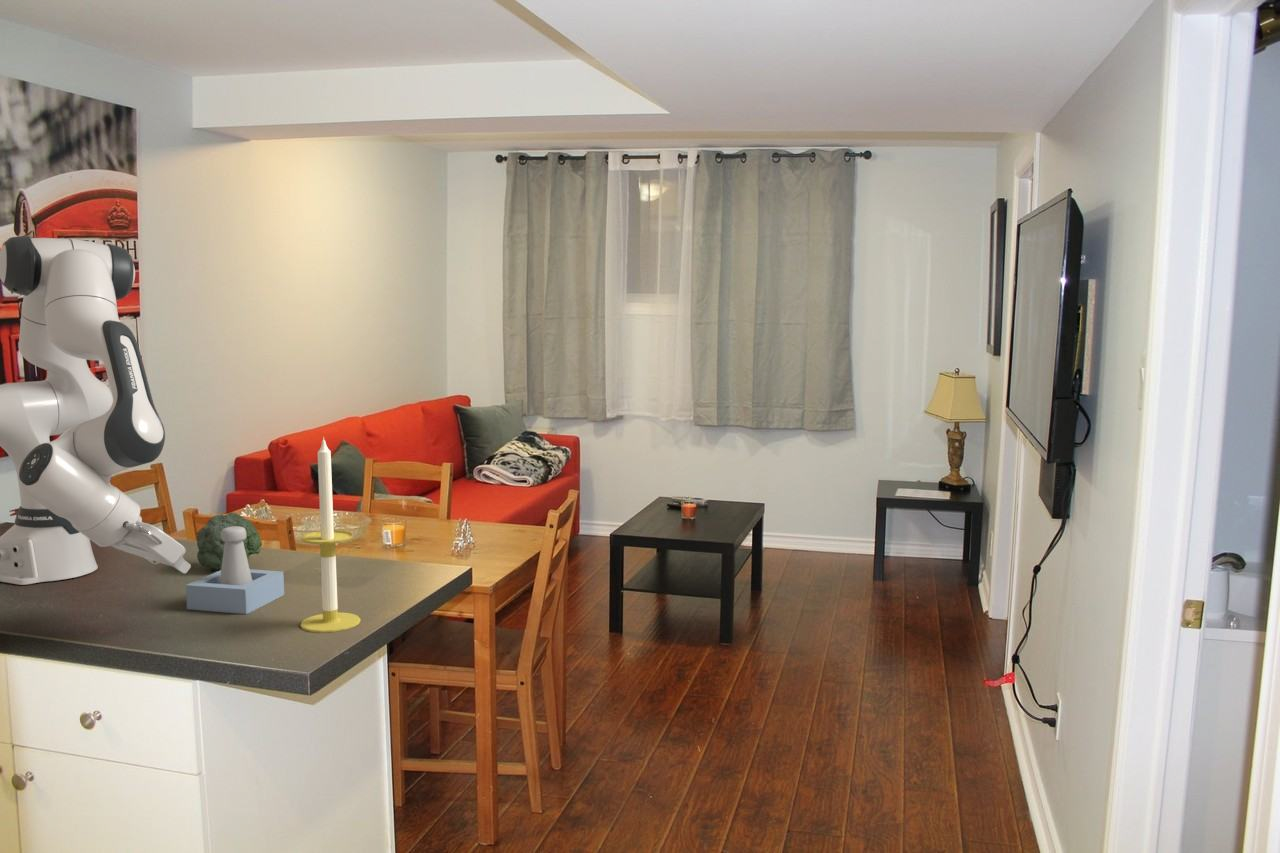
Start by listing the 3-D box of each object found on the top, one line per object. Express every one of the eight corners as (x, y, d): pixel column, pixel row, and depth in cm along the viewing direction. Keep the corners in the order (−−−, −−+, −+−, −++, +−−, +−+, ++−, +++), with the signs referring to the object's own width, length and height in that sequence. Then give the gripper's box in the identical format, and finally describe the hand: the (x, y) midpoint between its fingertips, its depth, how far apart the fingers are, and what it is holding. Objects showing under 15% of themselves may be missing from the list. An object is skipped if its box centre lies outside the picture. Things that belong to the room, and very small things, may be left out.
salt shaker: (218, 594, 191) (215, 525, 189) (251, 590, 193) (248, 522, 191) (221, 603, 185) (217, 532, 184) (255, 598, 188) (251, 529, 186)
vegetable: (286, 548, 220) (256, 533, 206) (241, 593, 217) (208, 581, 203) (249, 512, 223) (218, 494, 209) (205, 556, 220) (170, 541, 206)
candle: (287, 627, 175) (279, 438, 171) (327, 611, 184) (320, 431, 180) (334, 635, 171) (326, 442, 167) (372, 618, 180) (366, 434, 176)
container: (187, 609, 185) (185, 585, 184) (228, 590, 197) (226, 567, 196) (246, 614, 182) (245, 589, 182) (284, 594, 194) (283, 571, 193)
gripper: (155, 512, 165) (215, 559, 174) (95, 496, 178) (155, 541, 187) (129, 544, 162) (192, 590, 171) (70, 526, 175) (131, 570, 184)
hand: (172, 565), depth 179 cm, fingers open, 8 cm apart
